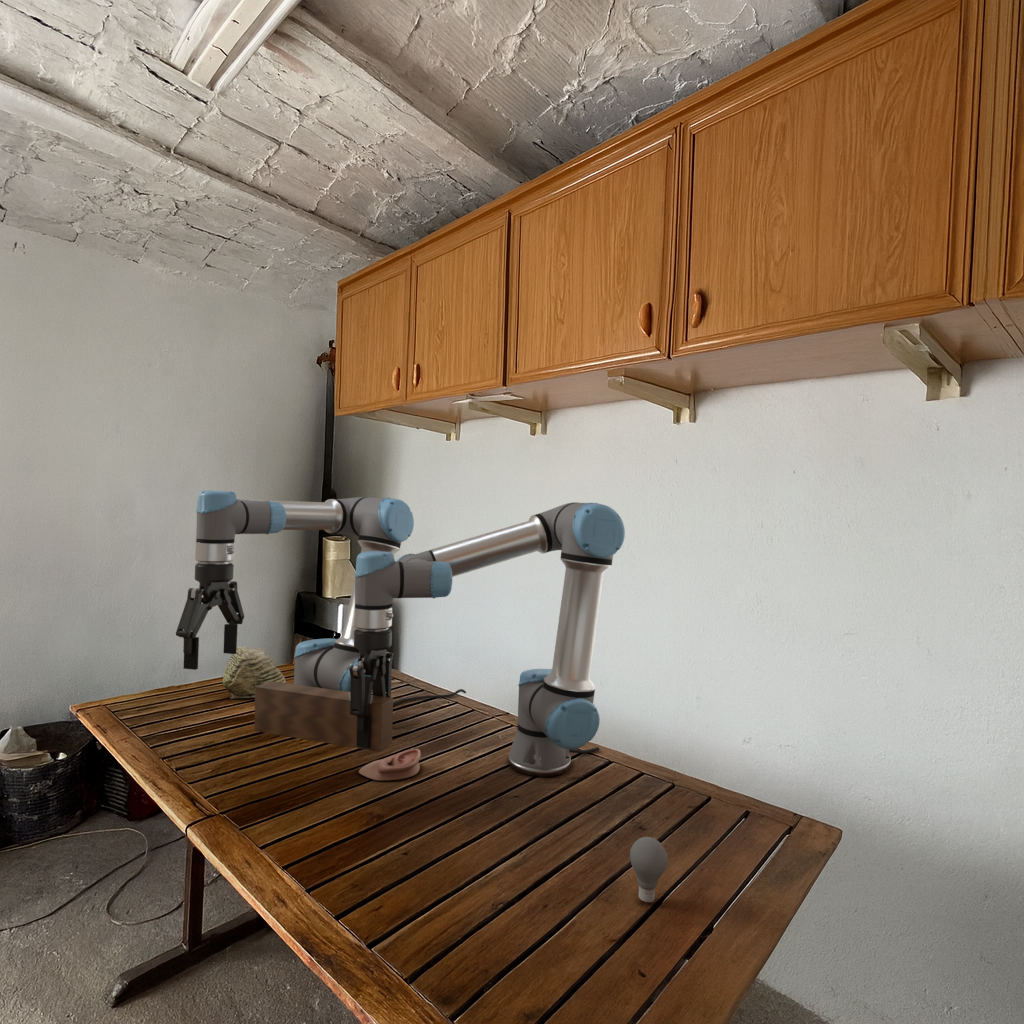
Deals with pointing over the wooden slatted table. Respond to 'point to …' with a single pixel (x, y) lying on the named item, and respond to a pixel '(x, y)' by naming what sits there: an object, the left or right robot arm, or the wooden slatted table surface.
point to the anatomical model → (393, 766)
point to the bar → (319, 715)
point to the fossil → (249, 672)
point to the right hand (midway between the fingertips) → (370, 741)
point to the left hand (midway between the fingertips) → (211, 660)
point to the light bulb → (648, 865)
